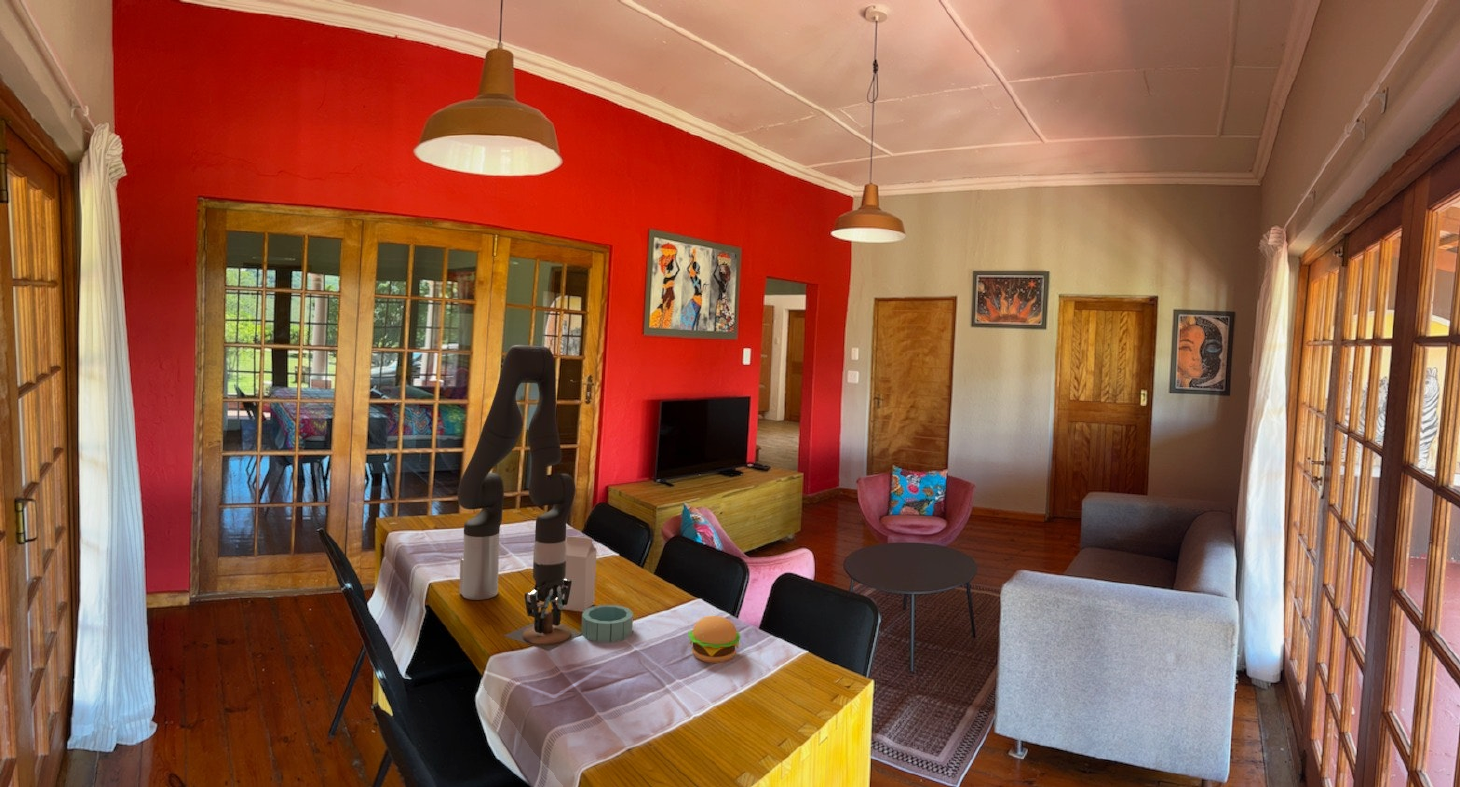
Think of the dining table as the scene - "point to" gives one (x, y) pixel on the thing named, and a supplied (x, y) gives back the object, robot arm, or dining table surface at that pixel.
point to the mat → (519, 637)
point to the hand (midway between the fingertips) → (547, 628)
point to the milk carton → (580, 573)
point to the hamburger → (714, 639)
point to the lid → (547, 632)
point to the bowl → (607, 623)
